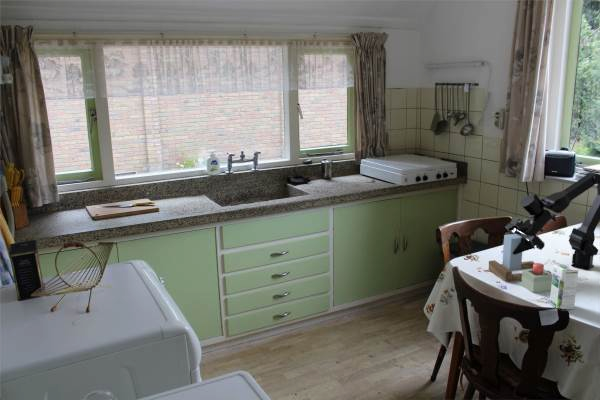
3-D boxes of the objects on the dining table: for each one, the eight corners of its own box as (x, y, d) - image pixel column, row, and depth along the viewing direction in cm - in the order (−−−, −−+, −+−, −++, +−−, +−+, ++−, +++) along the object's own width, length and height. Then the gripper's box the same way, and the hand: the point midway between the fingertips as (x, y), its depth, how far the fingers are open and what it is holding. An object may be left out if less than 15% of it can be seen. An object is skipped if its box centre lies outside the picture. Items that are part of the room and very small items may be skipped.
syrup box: (548, 303, 178) (552, 264, 175) (565, 302, 179) (569, 263, 175) (558, 311, 173) (562, 270, 169) (574, 309, 173) (579, 269, 170)
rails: (531, 265, 212) (532, 261, 211) (550, 276, 200) (551, 271, 200) (494, 269, 209) (494, 265, 209) (511, 281, 198) (511, 276, 197)
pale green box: (540, 283, 195) (541, 268, 193) (552, 290, 188) (553, 275, 187) (521, 285, 194) (522, 270, 192) (532, 292, 187) (533, 277, 185)
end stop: (494, 269, 209) (494, 260, 208) (511, 281, 198) (511, 271, 197) (488, 270, 209) (489, 260, 208) (505, 281, 197) (505, 272, 196)
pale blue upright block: (513, 264, 206) (515, 233, 203) (521, 269, 201) (523, 237, 198) (502, 265, 205) (504, 234, 202) (509, 270, 200) (511, 238, 197)
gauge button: (539, 270, 191) (539, 262, 191) (545, 273, 188) (546, 266, 187) (530, 271, 191) (531, 263, 190) (536, 274, 187) (537, 267, 187)
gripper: (511, 203, 207) (484, 232, 208) (539, 216, 189) (510, 247, 190) (527, 220, 210) (500, 248, 211) (557, 234, 192) (528, 265, 193)
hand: (509, 251), depth 201 cm, fingers closed on pale blue upright block, 5 cm apart
